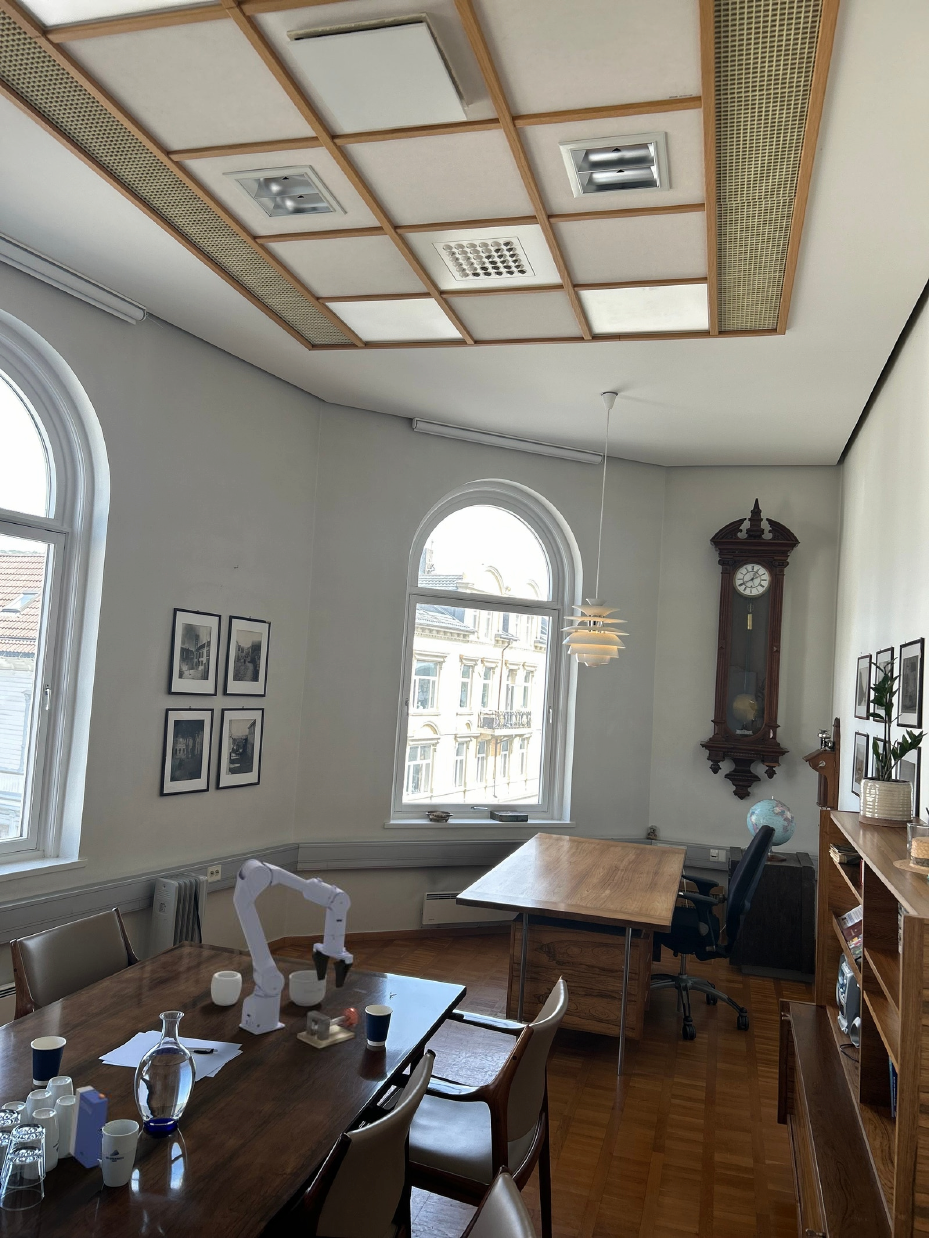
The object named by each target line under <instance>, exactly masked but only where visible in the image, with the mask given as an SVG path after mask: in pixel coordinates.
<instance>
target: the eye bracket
mask: <svg viewBox="0 0 929 1238" xmlns="http://www.w3.org/2000/svg"><path fill="white" fill-rule="evenodd" d="M306 1015H307V1016H306V1017H307V1019H306V1030H305V1031H302V1032H298V1033H297V1035H296V1038H297V1039H298V1040H301V1041H302V1042H305V1043H308V1044H309V1045H311V1046H313V1047H315V1048H318V1049H322V1048H325V1047H328V1046H331V1045H335V1044H338V1043H341V1042H344V1041H347V1040H352V1039H353V1038H355V1032H353V1031H350V1030H348V1029H345V1028H344V1027H341V1026H338V1025H334V1026H331V1027H330V1020H331V1017H330V1016H328V1015H327V1014H323V1013H321V1012H319V1011H317V1010H312V1011H308V1012H307V1014H306ZM314 1021H315V1022H317V1023H316V1024H318V1029H317V1031H312V1022H314Z"/></svg>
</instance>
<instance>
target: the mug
mask: <svg viewBox="0 0 929 1238" xmlns="http://www.w3.org/2000/svg"><path fill="white" fill-rule="evenodd" d="M242 983H243V980H242V975H241V973H240V972H237V971H232V970H224V971H219V972H216V973H214V974H213V976H212V978H211V984H210V995H211V998H212V1001H213V1003H214V1004H215V1005H218V1006H223V1007H224V1006H226V1007H227V1006H231V1005H234V1004H235V1003H236V1002H237V1001H238V1000H239V998H240V994H241V991H242V987H243V986H242V985H243V984H242Z"/></svg>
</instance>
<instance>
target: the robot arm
mask: <svg viewBox="0 0 929 1238" xmlns="http://www.w3.org/2000/svg"><path fill="white" fill-rule="evenodd" d="M236 875H237V877H236V878H237V879H236V884H235V887H234V892H233V897H232V900H233V904H234V908H235V911H236V913H237V917H238V919H239V920H238V921H239V922H240V923H239V924H240V925H241V929H242V931H243V935H244V938H245V940H246V944H247V946H248V947H247V948H248V949H249V953H250V955H251V959H252V963H251V964H252V967H253V974H252V977H253V980H254V982H255V987H254V989H253V993H252V994H250V995H248V996H247V997H245V998H244V1000H243V1004H242V1009H241V1010H242V1013H241V1023H240V1024H239V1027H240V1028H242V1029H244V1030H246V1031H248V1032H250V1033H253V1034H254V1035H260V1034H264V1033H268V1032H271V1031H275V1030H278V1029H282V1028H285V1027H286V1024H284V1023H282V1022H280V1021H279V1019H280V1006H281V995H282V990H283V989H284V987H285V978H284V975H283V974H282V973H281V972H280V971H279V970H278V968H277V965H276V963H275V961H274V959H273V957H272V955H271V951H270V949H269V946H268V942H267V939H266V937H265V933H264V930H263V928H262V924H261V920H260V918H259V915H258V911H257V909H256V906H255V900H256V899H257V898H258V896H259V894H261V893H262V892H263V891H264V890H265V889H266V888H267V887H268V886H269V885H270V886H275V885H277V884H280V885H281V884H282V885H284V886H287V887H289V888H292V889H294V890H298V891H299V892H302V895H303V898H304V899H305V900H308V901H310V902H313V903H316V904H318V905H320V906H321V907H326V913H325V921H324V923H325V924H324V933H323V943H320V942H318V943H314V944H313V949H312V951H313V952H314V953H313V954H311V958H312V960H313V963H314V967H315V971H316V972H317V978H318V981H321V980H325V977H326V975H327V970H328V969H327V968H328V965H329V961H330V959H331V958H333V959H336V960H337V961H334V962H333V967H334V971H335V980H334V982H335V983H334V984H335V985H334V986H335V988H336V989H339V988H343V987H344V984H345V981H346V978H347V976H348V974H349V971H350V970H351V968H352V966H354V955H353V954H350V952H348V951H347V950H346V947H344V946H345V935H346V926H347V925H346V923H347V912H348V911H349V909H350V907H351V905H352V902H351V900H350V899H351V898H350V895H349V894H347V892H345V891H344V890H342V889H340V888H338V886H336V885H334V884H332V885H330V884H328V883H325V882H323V879H322V878H319V877H317V878H313V877H312V878H311V879H310V878H309V879H307V880H306V879H304V878H302V877H299V876H298V875H295V874H294V873H292V872H289V871H288V870H285V869H283V868H282V867H279V866H276V865H273V864H270V863H267V862H263V861H262V862H260V861H259V860H258V859H248V860H246V861H245V862H244V863H242V865H241V867H240V869H239V870H238V871H237V873H236ZM326 978H327V977H326Z"/></svg>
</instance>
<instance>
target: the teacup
mask: <svg viewBox="0 0 929 1238" xmlns="http://www.w3.org/2000/svg"><path fill="white" fill-rule="evenodd" d="M288 979H289V984H288V985H289V990H288V991H289V997H290V999H291V1001H293V1002H294V1003H295V1005H296V1006H301V1007H311V1006H315V1005H318V1004H319V1003H320V1002H321V1001H322V1000H323V999H324V997H325V995H326V989H327V974H326V977H325V980H321V981H318V978H317V972H316V970H299V971H296V972H292V973H290V974H289V976H288Z"/></svg>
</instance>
